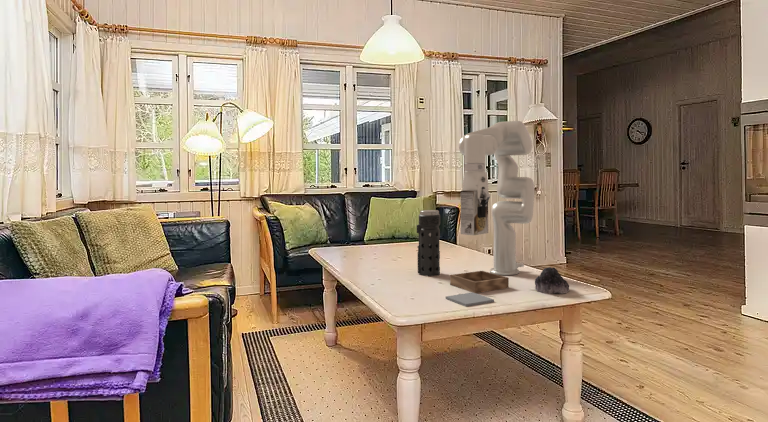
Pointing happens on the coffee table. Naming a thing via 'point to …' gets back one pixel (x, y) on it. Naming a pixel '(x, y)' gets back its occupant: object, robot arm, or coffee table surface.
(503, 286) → the corral
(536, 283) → the crystal cluster
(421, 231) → the muzzle brake
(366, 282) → the coffee table surface
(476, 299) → the mat
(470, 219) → the coffee box
